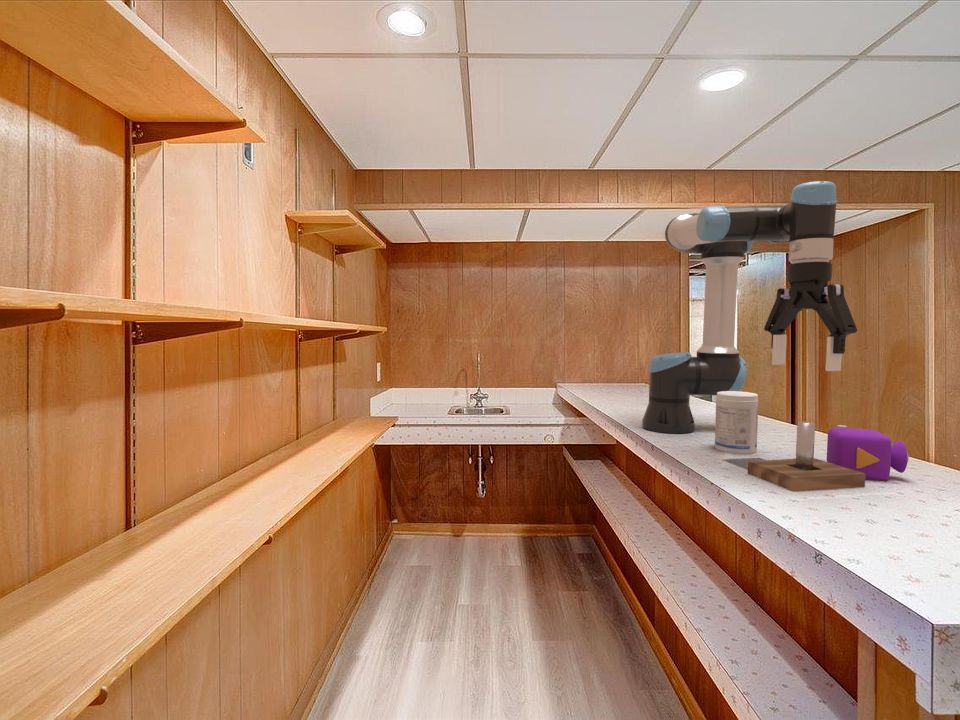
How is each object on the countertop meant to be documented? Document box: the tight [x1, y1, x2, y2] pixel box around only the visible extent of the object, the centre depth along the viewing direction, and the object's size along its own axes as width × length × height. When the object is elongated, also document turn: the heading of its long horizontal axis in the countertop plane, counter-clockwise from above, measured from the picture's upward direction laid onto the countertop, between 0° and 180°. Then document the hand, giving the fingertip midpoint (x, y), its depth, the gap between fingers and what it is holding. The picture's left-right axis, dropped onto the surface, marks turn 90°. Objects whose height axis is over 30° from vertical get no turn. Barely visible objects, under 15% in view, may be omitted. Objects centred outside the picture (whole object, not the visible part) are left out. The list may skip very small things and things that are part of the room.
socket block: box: [747, 457, 866, 493], centre depth 102 cm, size 12×16×3 cm
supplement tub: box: [714, 390, 759, 455], centre depth 127 cm, size 10×10×15 cm
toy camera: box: [826, 424, 910, 482], centre depth 106 cm, size 11×14×10 cm
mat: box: [721, 457, 766, 471], centre depth 112 cm, size 12×10×1 cm
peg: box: [795, 421, 816, 471], centre depth 102 cm, size 3×3×12 cm
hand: (804, 367), depth 103 cm, fingers open, 13 cm apart
